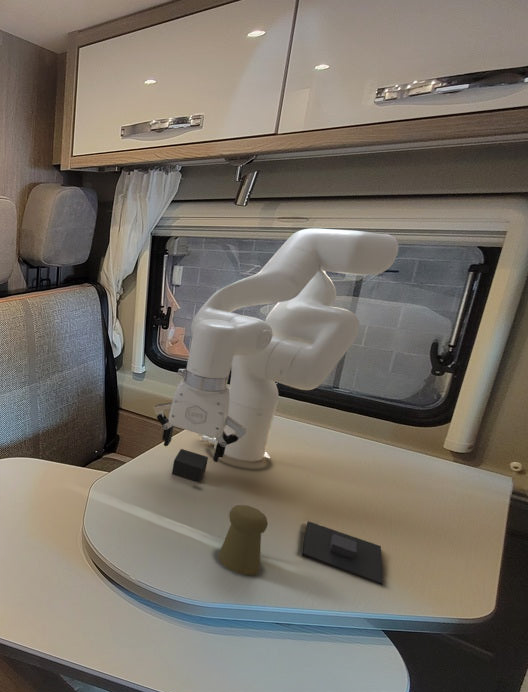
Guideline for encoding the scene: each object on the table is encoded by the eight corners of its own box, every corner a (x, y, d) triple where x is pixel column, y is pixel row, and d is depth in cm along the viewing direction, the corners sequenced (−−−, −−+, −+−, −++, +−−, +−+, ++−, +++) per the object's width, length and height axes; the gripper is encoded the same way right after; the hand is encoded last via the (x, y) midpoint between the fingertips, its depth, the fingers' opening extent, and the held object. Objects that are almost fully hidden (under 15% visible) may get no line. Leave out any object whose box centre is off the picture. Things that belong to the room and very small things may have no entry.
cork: (252, 557, 79) (265, 503, 76) (264, 582, 74) (278, 525, 71) (213, 550, 81) (223, 496, 78) (222, 574, 76) (233, 517, 73)
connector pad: (171, 474, 101) (174, 459, 100) (178, 463, 105) (181, 448, 104) (199, 484, 98) (202, 468, 96) (205, 471, 102) (208, 456, 100)
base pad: (301, 557, 79) (305, 546, 78) (306, 525, 85) (309, 514, 85) (380, 588, 72) (385, 576, 71) (379, 550, 79) (383, 539, 78)
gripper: (155, 375, 96) (144, 444, 102) (253, 397, 85) (234, 474, 91) (165, 364, 101) (154, 431, 107) (259, 384, 90) (240, 457, 96)
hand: (191, 451), depth 99 cm, fingers open, 9 cm apart
